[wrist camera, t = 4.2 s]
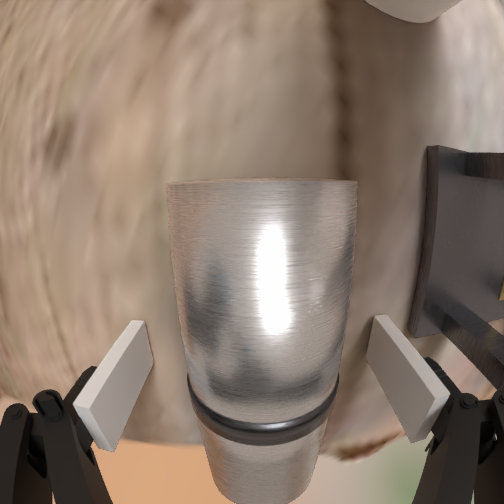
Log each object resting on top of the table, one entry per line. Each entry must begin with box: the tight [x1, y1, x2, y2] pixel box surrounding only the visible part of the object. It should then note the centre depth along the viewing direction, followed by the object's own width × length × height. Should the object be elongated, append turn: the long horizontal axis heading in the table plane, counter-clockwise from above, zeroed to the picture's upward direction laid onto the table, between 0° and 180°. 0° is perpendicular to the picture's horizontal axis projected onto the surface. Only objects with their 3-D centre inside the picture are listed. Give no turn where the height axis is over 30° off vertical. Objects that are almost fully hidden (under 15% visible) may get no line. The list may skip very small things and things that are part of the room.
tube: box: [166, 178, 358, 504], centre depth 11 cm, size 16×6×6 cm, turn 1°
